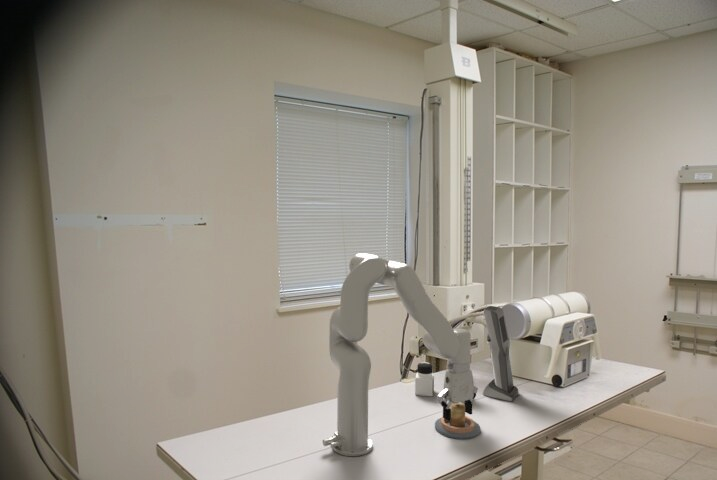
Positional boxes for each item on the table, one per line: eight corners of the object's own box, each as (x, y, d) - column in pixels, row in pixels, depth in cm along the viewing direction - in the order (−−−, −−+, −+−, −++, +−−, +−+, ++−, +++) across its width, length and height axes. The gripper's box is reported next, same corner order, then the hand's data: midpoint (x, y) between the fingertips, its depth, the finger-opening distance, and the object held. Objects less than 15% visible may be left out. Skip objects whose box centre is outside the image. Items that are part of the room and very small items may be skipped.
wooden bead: (456, 430, 151) (457, 409, 151) (446, 424, 155) (447, 404, 155) (468, 427, 154) (468, 406, 153) (457, 421, 158) (458, 401, 158)
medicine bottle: (433, 396, 183) (433, 367, 182) (415, 395, 184) (415, 365, 184) (433, 390, 190) (434, 361, 189) (416, 388, 191) (416, 360, 190)
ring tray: (456, 443, 144) (456, 435, 144) (425, 424, 157) (425, 417, 157) (489, 432, 152) (490, 425, 152) (458, 415, 165) (458, 408, 165)
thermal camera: (488, 386, 194) (489, 305, 193) (519, 392, 188) (521, 308, 186) (480, 395, 184) (481, 309, 183) (512, 402, 178) (514, 313, 176)
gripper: (446, 373, 146) (445, 426, 147) (485, 365, 155) (484, 414, 156) (431, 367, 152) (430, 417, 153) (469, 359, 161) (468, 407, 162)
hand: (457, 416), depth 154 cm, fingers open, 9 cm apart
